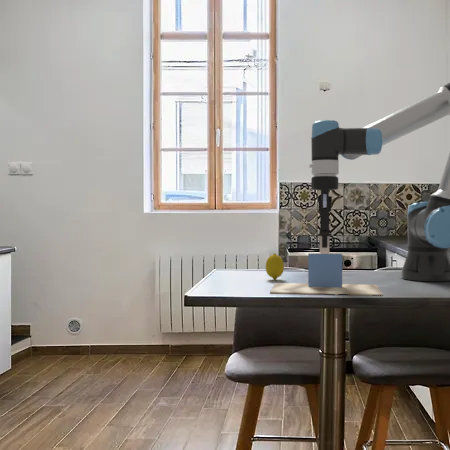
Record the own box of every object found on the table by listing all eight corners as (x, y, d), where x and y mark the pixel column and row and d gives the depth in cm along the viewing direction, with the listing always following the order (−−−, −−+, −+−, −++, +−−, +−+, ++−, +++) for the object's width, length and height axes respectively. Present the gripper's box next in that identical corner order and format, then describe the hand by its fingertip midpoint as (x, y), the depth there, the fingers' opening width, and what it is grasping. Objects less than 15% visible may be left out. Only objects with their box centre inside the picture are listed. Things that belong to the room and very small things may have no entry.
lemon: (282, 281, 175) (282, 254, 175) (264, 280, 177) (264, 254, 176) (284, 278, 181) (284, 253, 181) (266, 278, 182) (266, 252, 182)
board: (376, 286, 163) (376, 284, 163) (382, 295, 145) (382, 294, 145) (275, 284, 168) (275, 283, 168) (269, 293, 150) (269, 291, 150)
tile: (341, 286, 160) (341, 253, 159) (342, 287, 158) (342, 254, 158) (308, 286, 161) (308, 253, 161) (308, 286, 159) (308, 253, 159)
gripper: (312, 177, 173) (311, 257, 174) (310, 174, 160) (310, 260, 161) (337, 177, 172) (337, 257, 173) (338, 174, 159) (338, 261, 160)
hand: (324, 259), depth 167 cm, fingers closed
